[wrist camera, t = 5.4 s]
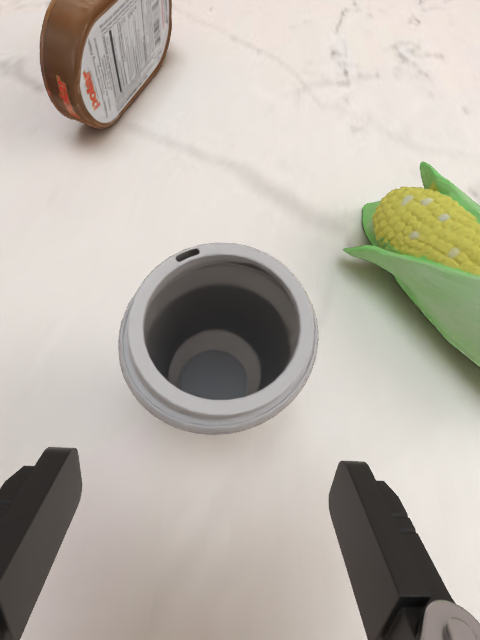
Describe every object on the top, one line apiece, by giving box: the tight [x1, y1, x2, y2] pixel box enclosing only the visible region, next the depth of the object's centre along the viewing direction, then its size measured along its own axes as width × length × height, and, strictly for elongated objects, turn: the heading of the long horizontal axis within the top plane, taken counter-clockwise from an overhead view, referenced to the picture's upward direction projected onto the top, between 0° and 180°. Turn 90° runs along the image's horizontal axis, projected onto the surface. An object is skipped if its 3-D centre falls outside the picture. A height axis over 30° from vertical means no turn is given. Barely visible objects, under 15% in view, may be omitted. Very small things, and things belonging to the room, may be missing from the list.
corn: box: [343, 162, 480, 367], centre depth 22 cm, size 8×8×20 cm
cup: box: [119, 243, 318, 435], centre depth 16 cm, size 7×7×12 cm
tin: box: [40, 0, 172, 129], centre depth 26 cm, size 15×3×8 cm, turn 157°
